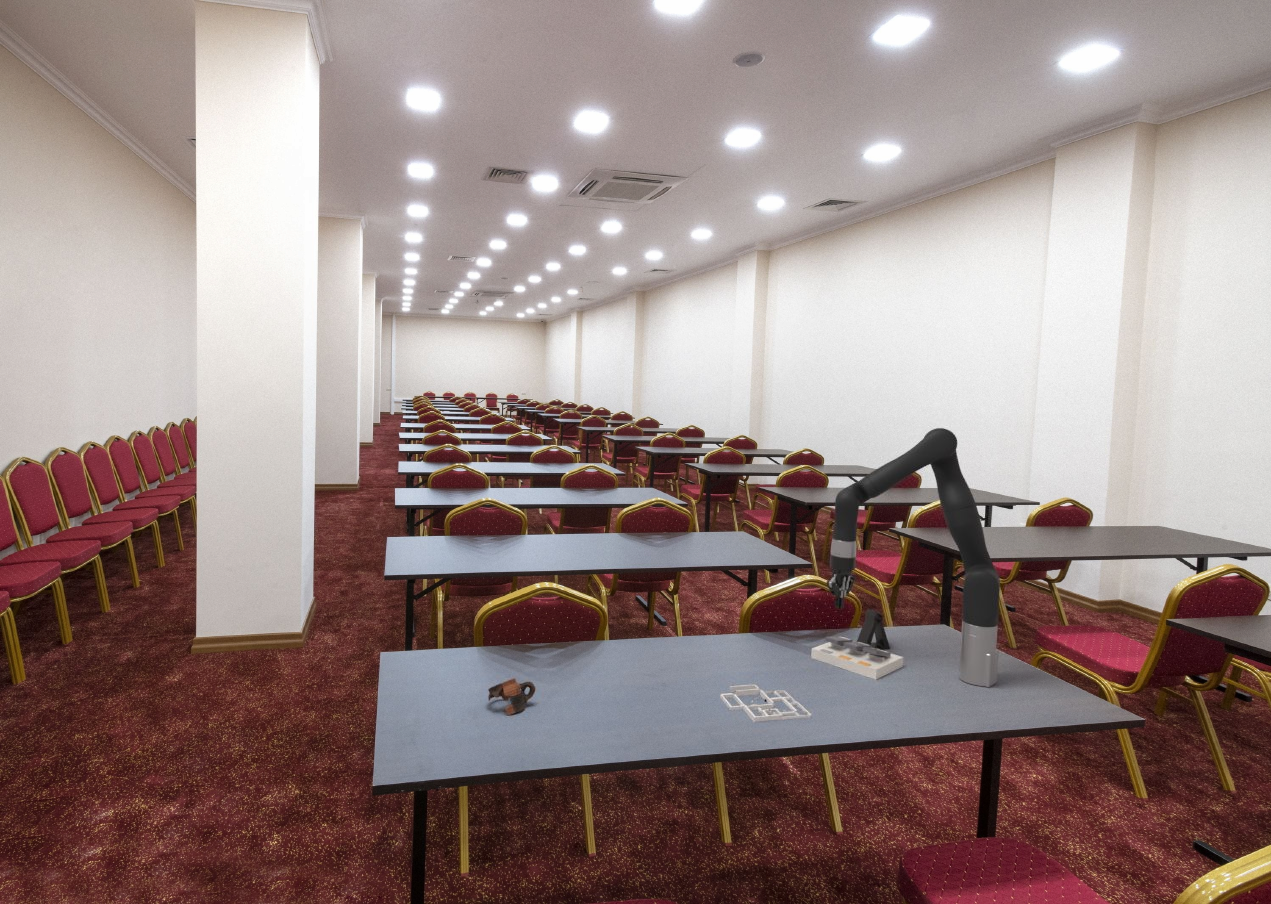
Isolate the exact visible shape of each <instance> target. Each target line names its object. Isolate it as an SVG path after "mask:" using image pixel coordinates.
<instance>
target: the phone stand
mask: <svg viewBox="0 0 1271 904" xmlns="http://www.w3.org/2000/svg"><path fill="white" fill-rule="evenodd" d="M883 620H884V617H883V615H882V613H880V612H878V611H876V610H875V609H873V608H868V609H866V611H865V619H864V622H863V624H862V627H861V629H860V632H859V635H858V637H857V639H856V642H861V643H864V644H868V645H871V648H875V649H880V650H883V651H889V650H891V647H890V643H889V640H888V637H887V634H886V629H885V627H884V624H883ZM873 637H875V641H874V642H872V641H873V639H874V638H873Z"/></svg>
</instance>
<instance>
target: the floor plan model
mask: <svg viewBox="0 0 1271 904" xmlns="http://www.w3.org/2000/svg"><path fill="white" fill-rule="evenodd" d="M729 692H730V693H721V694H720V696H719V697H720V699H721V700H722V701H723V703H724V704H725V705H726V707H727V708H728V709H729V710H730V711H738V710H739V711H740V710H743V711H744V712H745V713H746V714H747V715H748V717H749V718H750V719H751V720H752V721H753V722H754V723H759V722H768V721H787V720H797V719H798V720H799V719H809V718H810V719H811V718H812V717H813V716H812V713H810V712H809V711H808V710H807V709H806V708H805V707H804V706H803V705H802V704H800V702H799V701H796V700H795V698H793V697H792V696H791V695H790V694H789V693H788V692H787V691H786V690H785V689H780V690H779V689H777V690H768V691H764V690H762V689H760V687H758V685H756V684H745V685H744V684H742V685H733V686H731V685H730V686H729ZM781 693H782V694H785V695H786V696H782V695H780V694H781ZM770 694H771V695H772V694H773V696H775V697H773V696H771V697H769V696H768V695H770ZM753 695H754V696H753ZM755 695H757V696H755ZM758 695H760V697H761V698H762V699H763V700H764V702H765V703H766V704H757V703H753V702H754V700H755V699H758V700H760V697H759V696H758ZM743 696H744V697H745V696H752V697H753V698H752V699H753V700H751V703H752V704H751V705H746V704H744V702H743V701H742V700H741V699H740V698H739V697H743ZM730 698H731V699H732V698H733V699H734V700H735V702H737V704H738V705H732V704H731V703H730V702H729V701H728V700H727V699H730ZM789 701H792V702H789ZM775 702H783V703H784V704H785V705H786V706H787V707H788V708H789V709H790V710H791V711H788V709H782V710H781V712H780V711H779V709H778V708H775V707H774V706H775ZM796 706H797V707H798V709H800V710H801V711H802V713H803V715H802V714H800V713H798V710H797V709H796V708H795V707H796ZM753 711H758V712H759V713H760V714H761V716H760V715H759V716H758V715H757V716H756V715H755V714H754V712H753Z"/></svg>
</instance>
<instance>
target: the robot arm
mask: <svg viewBox="0 0 1271 904" xmlns="http://www.w3.org/2000/svg"><path fill="white" fill-rule="evenodd" d="M957 448H958V439H957V437H956V435H955V434H954V432H953V431H951V430H949V429H947V428H944V427H937V428H933V429H931V430H929V431H928V432H927V433H926V434H925V435H924V437H923V438H922V439H921V440H920V441H919V442H918V443H917V444H916V445H914V446H912V448H911V449H909V450H907V451H906V452H905V453H903V454H901V455H900V456H898V457H896V458H894V459H892V460H890V461H888V462H887V463H884V464H883V465H880V466H879V467H878V468H876V469H875V470H873V471H871V472H870V473H868V474H866V475H865V476H864V477H862V478H861V479H860V480H857V481H856V482H854V483H852V484H850V485H848V486H846V487H844V488H843V489H841V490H840V491H839V492H838V493H837V494H836V496H835V502H834V523H833V530H832V540H831V547H830V554H829V555H830V557H829V559H830V560H829V568H830V569H832V573H831V579H830V580H827V581H826V585H827V588H828V590H829V592H830V595H831V596H834V598H835V599H834V608H835V609H837V610H843V609H844V606H845V597H846V596H847V595H849V594H850V592H851V589H852V588H853V586H854V584H855V581H856V577H854V576H852V572H853V571H855V569H856V560H857V559H856V557H857V536H858V525H857V522H858V517H859V510H860V506H861V505H863V504H864V503H866V502H867V501H869V500H871V499H875V498H877V497H879V496H880V495H882V494H885V492H887V491H888V490H890V489H892V488H894V487H895V486H896V485H898V484H899V483H901V482H902V481H904V480H905V479H906V478H908V477H910V476H911V475H912V474H914V473H916V472H917V471H919V470H921V469H923V468H925V467H927V466H929V465H930V466H931V469H932V472H933V474H934V477H935V482H936V488H937V494H938V498H939V503H940V507H941V510H942V515H943V517H944V521H945V524H946V526H947V529H948V531H949V534H950V535H951V538H952V539H953V541H954V543H955V545H956V546H957V549H958V550H959V553H960V557H961V560H962V564H963V570H964V576H965V577H964V580H963V585H962V586H963V587H962V589H963V590H962V607H961V608H962V609H961V612H962V619H961V620H962V621H961V635H960V636H961V638H960V640H961V641H960V656H959V672H958V673H959V674H958V677H959V679H960V680H961V681H963V682H965V683H966V684H969V685H973V686H980V687H987V688H990V687H992V686H994V685H995V684H996V683H998V671H999V654H1000V653H999V650H998V649H997V642H998V640H997V639H998V623H999V604H1000V590H1001V589H1000V588H1001V579H1000V576H999V575H998V572H997V570H996V568H995V565H994V563H993V561H992V558H991V556H990V554H989V551H988V549H987V544H986V539H985V534H984V530H983V524H982V522H981V517H980V514H979V511H978V510H979V509H978V507H977V504H976V501H975V498H974V496H973V493H972V491H971V488H970V487H969V485H968V483H967V481H966V479H965V477H964V474H963V473H962V470H961V467H960V462H959V459H958V453H957Z"/></svg>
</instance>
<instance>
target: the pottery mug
mask: <svg viewBox="0 0 1271 904" xmlns="http://www.w3.org/2000/svg"><path fill="white" fill-rule="evenodd" d="M527 688H529V691H528V693H527V694H526V692H525V691H526V689H527ZM487 690H488V692H489V694H488V696H487V697H488V699H487V700H488V701H491V699H493V698H496V699H497V698H500V697H501V699H503V700H504V701H507V700H509V699H510V702H511V703H510V704H508V705H506V706H505V707H504V711H505V712H506V716H507V717H508V716H512V715H513V714H516V713H518V712H522V711H524V710H526V705H527V704H528V701H529V700H530V699H531V698H533V696H534V695H535V693H536V686H535V684H534V683H533V682H532V681H525V682H522V683H519V682H517V681H516V678H510V679H508V680H506V681H503V682H501V683H498V684H496V685H494V686H492V687H489V688H488V689H487Z"/></svg>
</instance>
